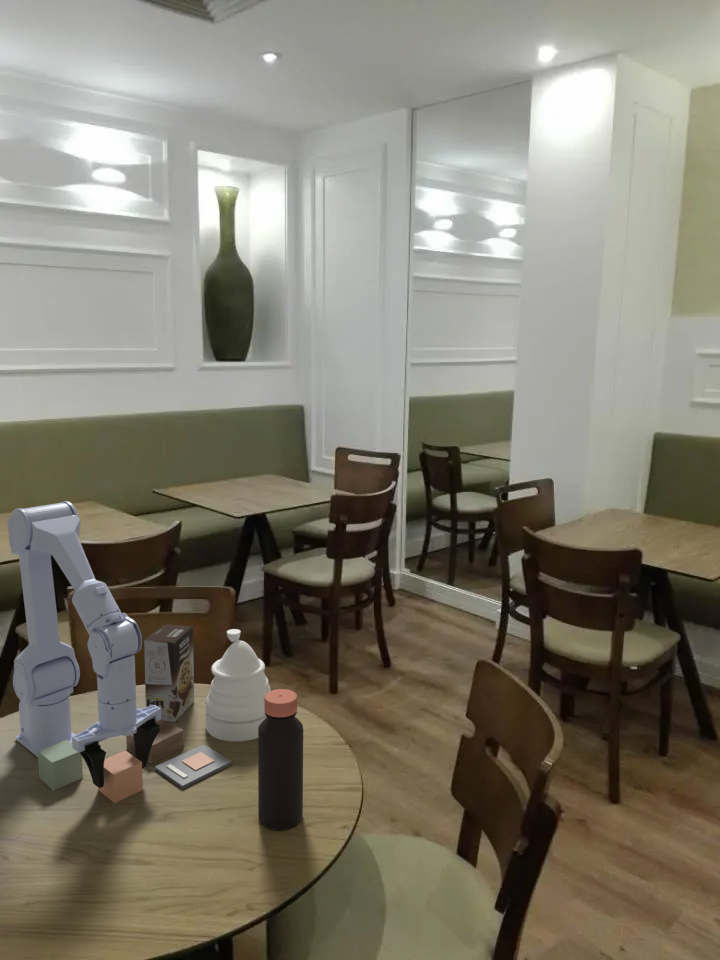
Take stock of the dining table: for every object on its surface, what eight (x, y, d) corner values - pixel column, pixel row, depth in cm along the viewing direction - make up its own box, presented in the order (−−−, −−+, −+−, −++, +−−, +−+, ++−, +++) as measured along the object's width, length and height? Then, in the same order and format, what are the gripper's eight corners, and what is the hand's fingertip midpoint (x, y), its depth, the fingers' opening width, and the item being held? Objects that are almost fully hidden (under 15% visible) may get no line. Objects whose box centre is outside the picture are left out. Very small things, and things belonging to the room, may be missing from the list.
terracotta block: (98, 790, 121) (97, 762, 120) (126, 777, 124) (125, 750, 123) (114, 803, 117) (113, 774, 117) (142, 790, 121) (141, 761, 120)
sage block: (39, 778, 124) (37, 751, 123) (68, 766, 127) (66, 739, 126) (53, 791, 120) (52, 762, 119) (82, 778, 124) (81, 750, 123)
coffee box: (176, 723, 142) (174, 643, 140) (144, 719, 144) (142, 639, 141) (195, 701, 151) (194, 625, 148) (166, 697, 152) (164, 622, 150)
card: (154, 769, 127) (154, 765, 127) (203, 747, 134) (203, 743, 134) (182, 789, 121) (182, 784, 121) (231, 764, 129) (231, 760, 129)
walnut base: (126, 751, 133) (126, 732, 132) (159, 735, 138) (158, 717, 138) (151, 764, 129) (150, 746, 128) (183, 747, 134) (183, 730, 134)
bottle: (309, 809, 117) (310, 690, 113) (291, 836, 110) (292, 710, 107) (270, 800, 119) (270, 682, 115) (250, 825, 113) (249, 702, 109)
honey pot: (193, 721, 143) (191, 632, 140) (249, 701, 152) (248, 617, 148) (229, 749, 134) (228, 654, 131) (287, 726, 142) (287, 636, 139)
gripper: (86, 721, 110) (90, 804, 112) (170, 689, 121) (173, 766, 123) (63, 705, 115) (68, 786, 117) (146, 676, 125) (149, 750, 128)
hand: (120, 775), depth 120 cm, fingers open, 7 cm apart
